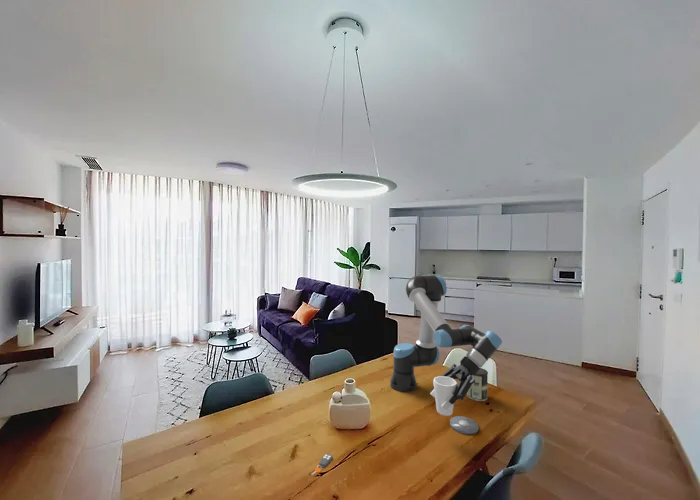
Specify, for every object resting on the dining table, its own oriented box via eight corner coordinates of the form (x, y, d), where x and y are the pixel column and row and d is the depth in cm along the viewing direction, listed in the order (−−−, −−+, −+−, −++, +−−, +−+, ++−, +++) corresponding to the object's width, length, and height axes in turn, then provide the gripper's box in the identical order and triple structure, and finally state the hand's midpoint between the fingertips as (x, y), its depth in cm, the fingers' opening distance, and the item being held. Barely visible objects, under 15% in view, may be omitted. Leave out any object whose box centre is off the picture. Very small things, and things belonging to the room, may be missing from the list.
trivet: (452, 432, 132) (452, 429, 132) (447, 417, 144) (447, 414, 144) (481, 435, 130) (481, 432, 130) (474, 420, 142) (474, 417, 142)
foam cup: (456, 407, 131) (457, 378, 131) (456, 419, 123) (457, 387, 122) (433, 403, 135) (434, 374, 134) (432, 415, 126) (432, 383, 125)
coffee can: (482, 392, 170) (483, 366, 170) (490, 401, 159) (491, 374, 159) (464, 391, 170) (464, 366, 170) (471, 401, 160) (471, 374, 159)
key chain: (324, 456, 117) (324, 452, 117) (333, 458, 116) (333, 454, 116) (306, 479, 106) (306, 474, 106) (315, 482, 104) (315, 478, 104)
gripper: (495, 378, 120) (457, 422, 118) (463, 358, 142) (431, 394, 139) (483, 366, 119) (445, 410, 117) (453, 347, 141) (420, 384, 138)
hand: (437, 401), depth 128 cm, fingers closed on foam cup, 9 cm apart
